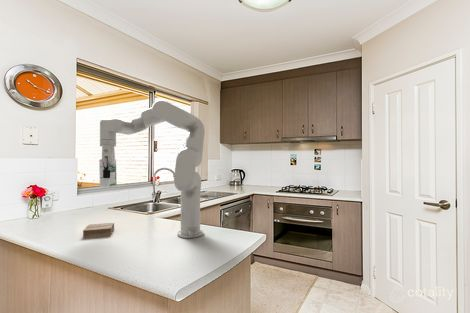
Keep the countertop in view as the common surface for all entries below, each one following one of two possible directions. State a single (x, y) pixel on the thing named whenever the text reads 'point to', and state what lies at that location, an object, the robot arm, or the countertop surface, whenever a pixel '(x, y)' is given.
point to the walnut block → (98, 230)
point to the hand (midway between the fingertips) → (108, 177)
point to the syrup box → (112, 180)
